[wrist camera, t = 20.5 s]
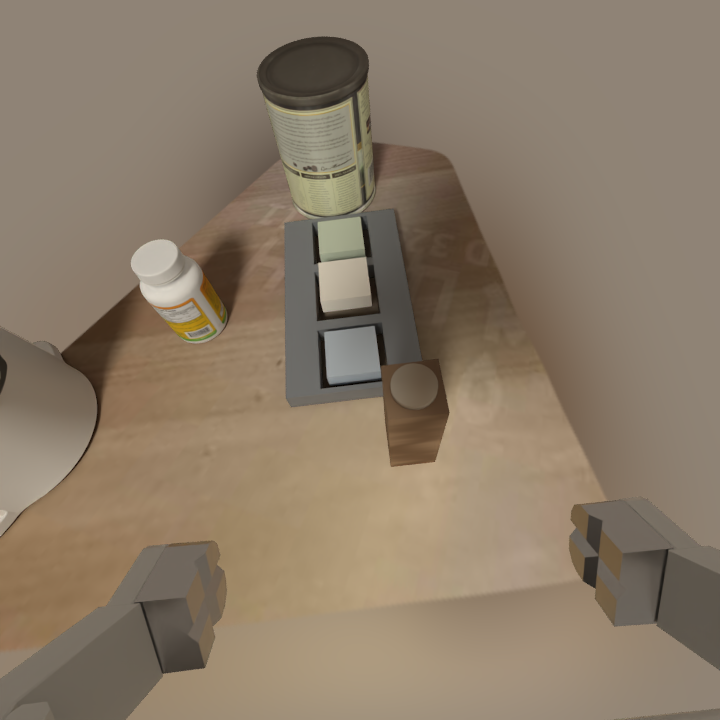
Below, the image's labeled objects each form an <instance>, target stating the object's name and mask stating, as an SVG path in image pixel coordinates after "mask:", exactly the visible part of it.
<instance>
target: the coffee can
mask: <svg viewBox="0 0 720 720" xmlns="http://www.w3.org/2000/svg"><path fill="white" fill-rule="evenodd" d="M368 69H369V60H368V55H367V54H366V52H365V51H364V49H363V48H362V47H360V46H359V45H358V44H356V43H354V42H352V41H349V40H346V39H342V38H336V37H312V38H306V39H301V40H297V41H294V42H291V43H288V44H286V45H284V46H282V47H280V48H278V49H276V50H275V51H273V52H272V53H270V54H269V55H268V56H267V57H266V58H265V59H264V60H263V61H262V62H261V64H260V66H259V68H258V71H257V78H258V83H259V86H260V88H261V90H262V92H263V96H264V100H265V103H266V107H267V110H268V114H269V118H270V121H271V125H272V128H273V132H274V135H275V138H276V142H277V145H278V149H279V153H280V156H281V160H282V163H283V167H284V170H285V174H286V177H287V182H288V185H289V188H290V192H291V195H292V201H293V204H294V206H295V208H296V209H297V210H298V211H299V212H300V213H301V214H302V215H304V216H305V217H307V218H309V219H317V218H325V217H333V216H341V215H348V214H356V213H361V212H362V211H363V210H365V209H366V208H367V207H368V206H369V205H370V203H371V202H372V200H373V198H374V195H375V189H376V188H375V181H374V166H373V151H372V137H371V121H370V105H369V90H368V89H369V88H368Z"/></svg>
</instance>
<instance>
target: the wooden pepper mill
mask: <svg viewBox="0 0 720 720" xmlns="http://www.w3.org/2000/svg"><path fill="white" fill-rule="evenodd" d="M381 374H382V387H383V399H384V412H385V424H386V432H387V440H388V448H389V456H390V463H391V467H394V466H403V465H411V464H420V463H429V462H435V460H436V456H437V453H438V450H439V446H440V443H441V440H442V436H443V433H444V429H445V426H446V423H447V419H448V416H449V408H448V403H447V399H446V394H445V389H444V384H443V380H442V375H441V370H440V365H439V361H438V359H434V360H425V361H417V362H409V363H401V364H392V365H384V366H381Z"/></svg>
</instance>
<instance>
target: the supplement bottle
mask: <svg viewBox="0 0 720 720" xmlns="http://www.w3.org/2000/svg"><path fill="white" fill-rule="evenodd" d="M131 268H132V270H133V271H134V272H135V274H136V275H137V276H138V278H139V279H140V290H141V292H142V294H143V296H144V297H145V299H146V300H147V301H148V302H149V303H150V304H151V305H152V307H153V308H154V309H155V310H156V311H157V312H158V313H159V314H160V315H161V317H162V318H163V319H164V320H165V321H166V322H167V323H168V325H169V326H170V327H171V328H172V329H173V330H174V331H175V332H176V334H177V335H178V336H179V337H180V338H181V339H183V340H184V341H186V342H189V343H204V342H207V341H210V340H212V339H213V338H215V337H216V336H218V335H219V334H220V333H221V332H222V330H223V329H224V327H225V325H226V322H227V311H226V308H225V307H224V305H223V303H222V302H221V300H220V298H219V297H218V295H217V294H216V292H215V290H214V289H213V287H212V286H211V284H210V282H209V281H208V279H207V278H206V276H205V274H204V273H203V271H202V269H201V268H200V267H199V265H198V264H197V263H196V262H195V261H194V260H193V259H191V258H190V257H187V256H184V255H183V254H182V253H181V251H180V250H179V249H178V247H177V246H176V245H175V244H174V243H173V242H171V241H169V240H165V239H164V240H163V239H159V240H154V241H150V242H148V243H146V244H144V245H143V246H141V247H140V248H139V249H138V250H137V251H136V252H135V253H134V255H133V257H132V259H131Z"/></svg>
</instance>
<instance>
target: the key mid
mask: <svg viewBox="0 0 720 720" xmlns="http://www.w3.org/2000/svg"><path fill="white" fill-rule="evenodd" d="M318 268H319V285H320V302H321V305H322V309H323V312H331V311H339V310H347V309H355V308H363V307H371V306H372V300H371V291H370V283H369V276H368V268H367V261H366V257H361V258H353V259H345V260H337V261H329V262H322V263H318Z"/></svg>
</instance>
